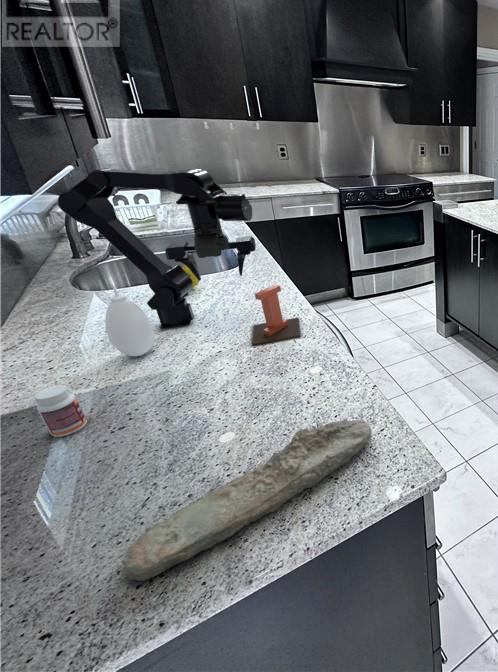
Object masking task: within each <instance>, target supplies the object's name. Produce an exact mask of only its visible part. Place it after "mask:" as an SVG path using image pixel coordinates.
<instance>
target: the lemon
mask: <svg viewBox="0 0 498 672" xmlns="http://www.w3.org/2000/svg"><path fill="white" fill-rule="evenodd" d="M181 267H182V268H183V270H184V271H185V272H186V273H187V274H189V275H191V276H190V278H191V280H192V281H193V287H192V289H191V290H193V289H194V288H195V287H197V286H198V284H199V283H200V281H199V280H198V279H197V278H196V276H195V275H194V274H193V273H192V272H191V270H190V269H189V268H188V267H187V266H186V265H183V266H181Z"/></svg>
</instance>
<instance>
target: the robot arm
mask: <svg viewBox="0 0 498 672" xmlns="http://www.w3.org/2000/svg"><path fill="white" fill-rule="evenodd" d="M116 188H125V189H126V188H128V189H145V190H146V189H147V190H164V191H169V192H171V193H173V194H177V195H180V197H179V198H178V199H177V200H176V201H175V204H176V205H186V206H187V210H188V214H189V216H190V220H191V224H192V227H193V232H194V237H193V242H194V243H193V244H191V245H189V242H188V241H180V242H177V241H176V242H170V243H169V244H168V245H167V247H166V248H165V250H164V251H165V252H164V253H165V257H166V260H169V261H171V260H174V262H175V263H181V264H183V265H184V266H187V267H188V268H189V269H190V270H191V272H192V273H193V274H194V275H195V276H196V278H197V279H198V280H199V282H201V281H202V276H201V272H200V270H199V267H198V264H197V262H196V261H197V260H196V259H195V256H194V253H196V255H197V257H198V258H199V259H205V258H210V257H211V258H212V257H213V258H217V257H220V256H221V255H222V251H227V250H235V249H236V251H237V252H236V257H237V265H238V273H239V276H243V271H244V263H245V259H246V256H249V255H251V252H255V251H256V246H257V244H256V240H255V238H254V236H239V237H236V240H235V241H229V238H228V236H227V235H226V234H224V232H223V228H222V224H221V221H220V220H222V221H223V222H250V221H251V220H252V218H253V207H252V204H251V202H250V201H249V199H247V197H246V195H245V193H235V194H228V193H227V191H225V190H224V189H223V188H222V187H221V186H220V185H219V184H218V183H217V182H216V181H215V180H214V179H213V177H212V174H210V173H209V172H208V171H207V170H205V169H202V168H191V169H182V170H175V171H152V170H136V169H135V170H134V169H116V168H111V167H104V168H97V169H93V170H92V171H90V172H89V173H88V174H87V176H85V178H84V179H82V180H81V181H79V183H77V184H75V185H74V186H73V187H71V188H70V189H69V190H68V191H65V192H62V193H61V194H60V195H58V198H57V206H58V208H59V209H60V210H61V211H62V212H63V213H64V214H65V215H67V216H68V217H70V218H72V219H73V220H74V221H76V222H78V223H80V224H82V225H85V226H87V227H89V228H91V229H94V230H95V231H97V232H98V233H99V234H100V235H101V237H103V238H104V239H105V240H106V241H107V242H109V243H110V244H111V246H113V247H114V248H115V249H116V250H118V252H120V253H121V254H122V255H123V256H124V257H125V258H126V259H127V260H128V261H130V263H132V264H133V265H134V266H135V267H136V268H137V269H138V270H139V271H140V272H141V273H143V275H144V276H145V278H146V281H147V284H148V287H149V289H150V290H151V291H152V292H153V295H152V296H151V298H150V299H149V300H148V301H147V302H146V305H147V306H148V307H149V309H150V310H153V311H156V314H157V317H158V320H159V322H160V325H159V329H160V330H166V329H167V330H168V329H174V328H179V327H185V326H190V325H191V323H192V321H193V320H194V317H195V314H194V311H193V307H192V304H191V303H189V302H188V300H187V298H186V297H188V296H189V294H190V291H191V290H193V289H192V287H193V281H192V280H191V278H190V276H191V275H189V274H187V273H186V272H185V271H184V270H183V268H182V267H183V266H181V265H179V264H176V265H174V266H172V265H169V264H167V263H166V262H164V261H163V260H162V259H161V258H159V257H158V256H157V254H155V253H154V252H153V250H151V249H150V248H149V247H148V246H147V245H146V244H145V243H144V242H143V241H142V240H141V239H140V238H138V236H137V235H135V233H134V232H132V231H131V230H130V229H129V228H128V227H127V226H126V225H125V224H124V223H123V221H121V220H120V219H119V218H118V216H117V213H116V210H115V207H114V204H113V203H112V202H111V201H110V200H109V198H110V197H111V196H112V195H113V194H114V192H115V190H116Z"/></svg>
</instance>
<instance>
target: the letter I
mask: <svg viewBox="0 0 498 672" xmlns="http://www.w3.org/2000/svg"><path fill="white" fill-rule="evenodd" d="M280 292H282V288H281V285H279V284H273V285H271V286H268V287H267V288H265V289H262V290H260V291H258V292H256V293H254V298H255V300H257V301H260V303H261V306H262V311H263V316H264V320H265V323H266V325H267V327H268V328H266V329H264V330H263V332H264V335H267V336H270V335H272V334H274V333H276V332H277V331H279V330H281V329H282V328H284V327H286V326H288V322H287V319H284V318H283V314H282V309H281V305H280V299H279V295H278V293H280Z"/></svg>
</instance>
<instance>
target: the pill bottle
mask: <svg viewBox="0 0 498 672" xmlns="http://www.w3.org/2000/svg"><path fill="white" fill-rule="evenodd" d="M34 400H35V401H36V403H37V406H36V410H37V413H38V414H39V416H40V418H41V419H42V421H43V423H44V425H45V427H46V429H47V430H48V431H49V434H50V435H51V436H52V437H55V438H61V437H66V436H69V435H72V434H74V433H76V432H78V431H80V430H82V429H83V428H84V427H85V426H86V424H87V423H88V420H87V418H86V416H85V414H84V412H83V409H82V408H81V405H80V404H79V402H78V399H77V397H76V395H74V394H73V393H71V392H70V390H69V388H68V386H67V385H64V384H57V385H53V386H50V387H47V388H44V389H42V390H40V391H38V392H37V393H36V394H35V395H34Z"/></svg>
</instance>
